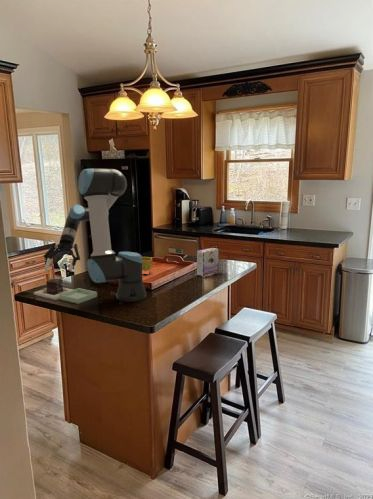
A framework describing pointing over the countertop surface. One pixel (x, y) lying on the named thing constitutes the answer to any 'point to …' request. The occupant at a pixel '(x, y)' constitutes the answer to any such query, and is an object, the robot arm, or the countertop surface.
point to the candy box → (207, 261)
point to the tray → (78, 295)
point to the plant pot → (146, 263)
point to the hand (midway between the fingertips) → (58, 270)
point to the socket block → (44, 294)
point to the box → (54, 286)
